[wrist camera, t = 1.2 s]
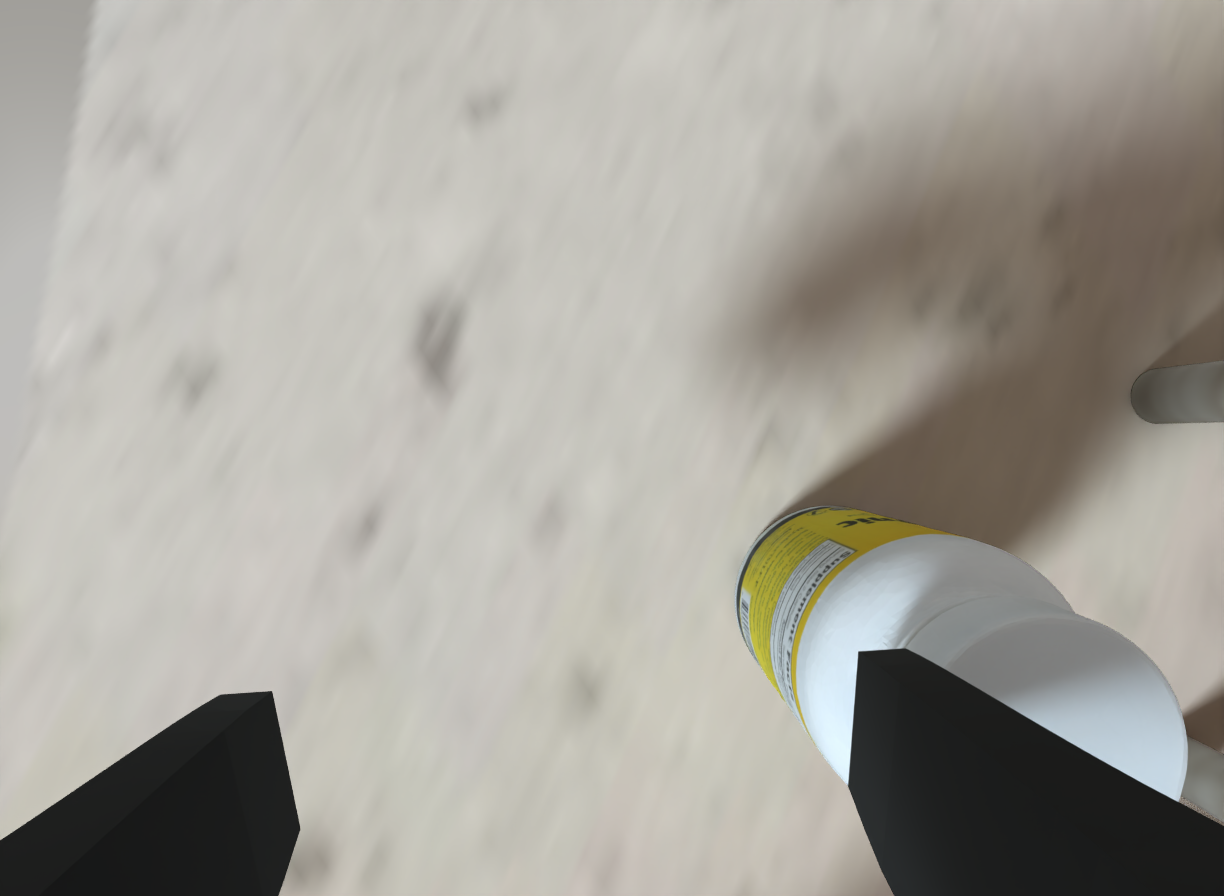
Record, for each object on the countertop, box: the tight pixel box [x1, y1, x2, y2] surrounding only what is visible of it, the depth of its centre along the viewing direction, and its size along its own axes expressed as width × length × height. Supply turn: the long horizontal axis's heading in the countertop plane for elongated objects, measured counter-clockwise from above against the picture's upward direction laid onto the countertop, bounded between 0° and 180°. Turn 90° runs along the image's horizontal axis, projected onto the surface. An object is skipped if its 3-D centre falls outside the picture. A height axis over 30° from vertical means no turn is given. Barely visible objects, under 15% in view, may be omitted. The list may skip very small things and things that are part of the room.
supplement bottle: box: [735, 506, 1188, 802], centre depth 14 cm, size 5×5×10 cm
